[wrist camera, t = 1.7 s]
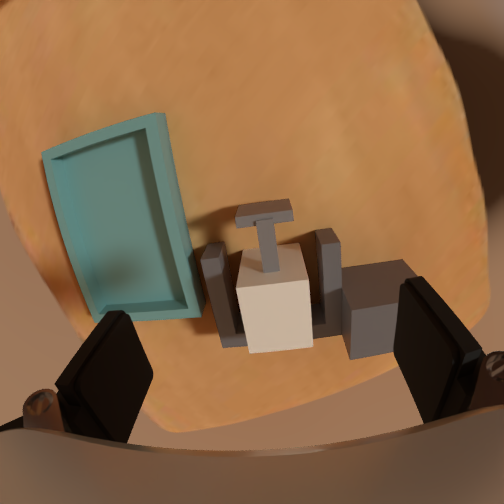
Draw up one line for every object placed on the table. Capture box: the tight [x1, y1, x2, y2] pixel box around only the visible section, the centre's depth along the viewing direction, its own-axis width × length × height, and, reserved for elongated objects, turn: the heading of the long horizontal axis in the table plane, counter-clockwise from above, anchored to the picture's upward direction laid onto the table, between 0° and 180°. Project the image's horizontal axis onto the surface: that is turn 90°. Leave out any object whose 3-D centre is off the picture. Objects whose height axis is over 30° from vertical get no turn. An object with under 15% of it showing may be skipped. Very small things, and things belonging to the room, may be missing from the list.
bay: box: [201, 228, 418, 360], centre depth 25 cm, size 9×18×7 cm, turn 99°
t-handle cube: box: [235, 199, 313, 353], centre depth 25 cm, size 10×5×7 cm, turn 9°
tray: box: [41, 113, 206, 323], centre depth 26 cm, size 18×12×2 cm, turn 9°
